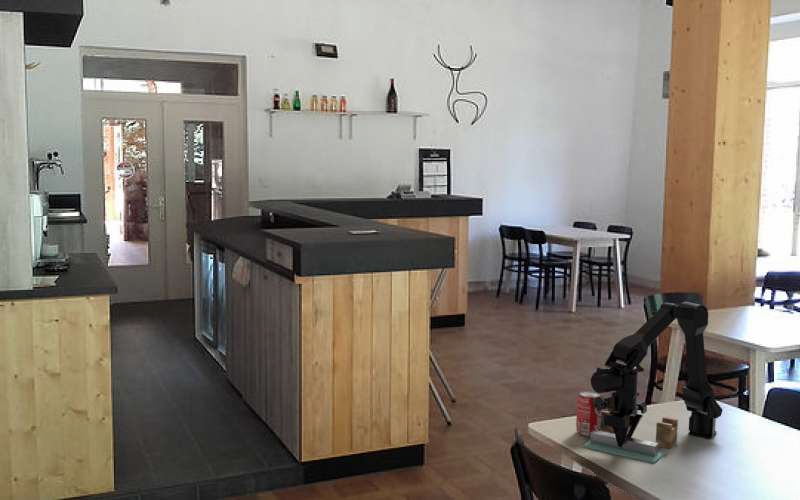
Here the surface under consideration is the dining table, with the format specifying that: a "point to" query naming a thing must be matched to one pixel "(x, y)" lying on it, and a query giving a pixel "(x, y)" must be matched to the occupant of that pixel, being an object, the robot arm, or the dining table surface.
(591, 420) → the soda can
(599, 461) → the dining table surface
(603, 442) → the rail
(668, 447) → the post
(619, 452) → the mat
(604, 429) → the post
